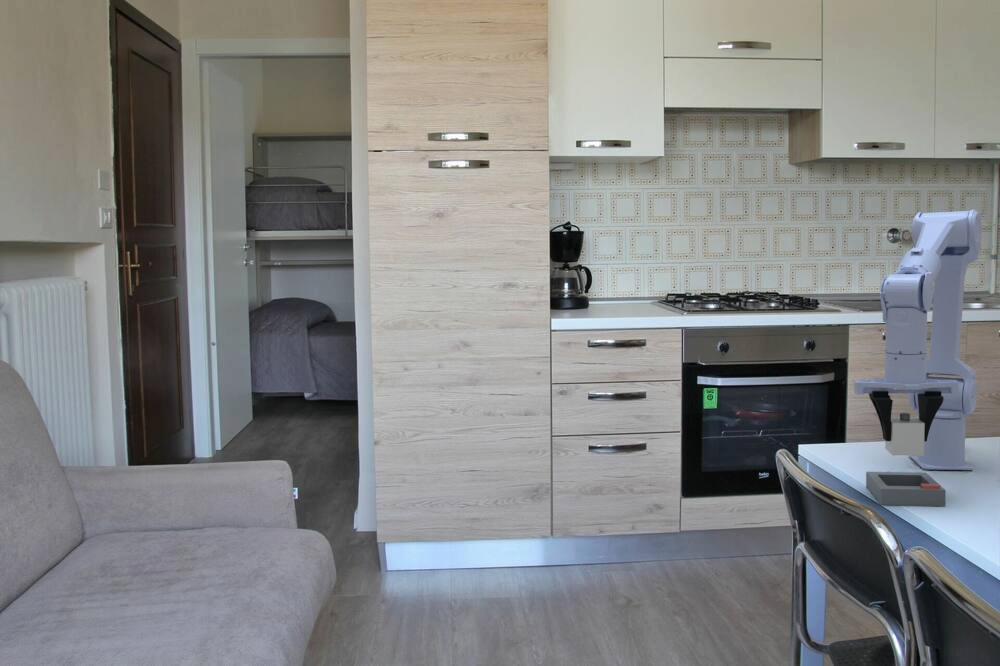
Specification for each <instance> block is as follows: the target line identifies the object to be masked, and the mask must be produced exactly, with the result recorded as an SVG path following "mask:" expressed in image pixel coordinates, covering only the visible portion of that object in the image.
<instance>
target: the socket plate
mask: <svg viewBox="0 0 1000 666" xmlns="http://www.w3.org/2000/svg"><path fill="white" fill-rule="evenodd" d="M865 475H866V476H865V477H866V478H865V487H866V489H867V490H868V491H869V493H870V494H871V495H872V496H873V497H874V499H876V502H878V504H879V505H880V506H907V507H908V506H909V507H910V506H912V507H913V506H914V507H946V495H947V494H946V491H947V490H946V488H944V487H943V486H942V485H941V484H940V483H939V482H937V480H935V479H934V478H933V477H932V476H931V475H930V474H929V473H927V472H923V471H921V472H916V471H915V472H913V471H907V472H906V471H866V474H865Z"/></svg>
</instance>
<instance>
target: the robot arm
mask: <svg viewBox="0 0 1000 666" xmlns="http://www.w3.org/2000/svg"><path fill="white" fill-rule="evenodd" d="M911 238H912V243H913V245H914V247H912V249H909V250H907V252H906V253H905V254H904V255H903V256H902V259H901V260H900V263H899V265H898V266H897V268H896V270H895V271H894V273H893V274H892V273H891V274H889V275H888V277H884V278H883V279H882V281H881V285H880V290H879V291H880V292H879V294H880V295H879V297H880V298H879V299H880V304H881V305H880V306H881V309H882V310H881V311H882V322H883V323H885V349H884V350H885V353H884V354H885V358H884V359H885V360H884V361H885V362H884V364H885V365H884V366H885V367H884V369H885V370H884V371H885V372H884V376H885V377H884V378H877V379H875V378H874V379H855V380H854V381H853V393H855V394H856V395H864V394H868V397H869V399H870V401H871V402H872V405H873V408H874V409H875V412H876V414H877V416H878V417H877V418H878V419H879V423H880V427H881V428H880V429H881V432H882V438H883V440H884V442H885V441H891V417H892V412H893V411H892V410H893V403H894V402H893V401H894V400H893V399H891V395H889V394H908V401H909V402H908V404H909V406H910V407H911V408H912V410H913V411H916V412H915V414H916V415H918V417H917V418H918V419H919V420H921V421H922V422H924V423H925V428H924V456H909V455H908V457H909V458H910V459H912V461H914V462H915V463H916V464H917V465H918V466H919V467H920V468H922V469H923V470H940V471H941V470H942V471H943V470H945V471H946V470H947V471H949V470H951V471H952V470H953V471H954V470H955V471H973V470H974V467H973V466H972V465H970V464H969V463H968V462H967V461H966V460H965V459H966V419H967V416H970V415H971V414H972V413H974V412H975V409H976V407H977V401H978V400H977V398H978V386H977V374H976V372H975V371H974V369H973V368H972V367H970V366H969V365H968V364H966V363H965V362H964V361H962V360H961V359H960V352H961V338H962V337H961V335H962V323H963V322H962V321H963V307H964V293H965V292H964V291H965V290H964V289H965V279H966V274H967V269H968V265H970V264H971V263H974V262H976V261H977V260H979V254H980V253H981V243H982V242H981V240H982V219H981V215H980V213H979V212H978V211H977V210H976V209H970V210H960V211H959V210H957V211H939V212H922V211H919V212H917V213H916V214H915V216H914V217H913V220H912V224H911ZM931 310H932V314H931V326H930V327H931V331H930V340H929V341H930V342H929V355H928V354H927V353H928V352H927V350H928V344H927V343H928V312H929V311H931ZM927 355H928V356H927ZM927 357H928V358H927ZM931 375H935V376H931ZM937 375H938V376H937ZM944 376H954V377H944ZM957 376H958V378H957ZM959 377H961V378H959Z"/></svg>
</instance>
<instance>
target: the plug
mask: <svg viewBox="0 0 1000 666" xmlns="http://www.w3.org/2000/svg"><path fill="white" fill-rule="evenodd" d="M924 428H925V423H924V422H922V421H921V420H919V419H918V417H917V416H915V417H911V413H909V412H900V413H899V416H891V441H885V440H884V443H885V444H884V448H885V450H886V451H887V452H888V453H889V454H890V455H891V456H908V457H909V456H924Z"/></svg>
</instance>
